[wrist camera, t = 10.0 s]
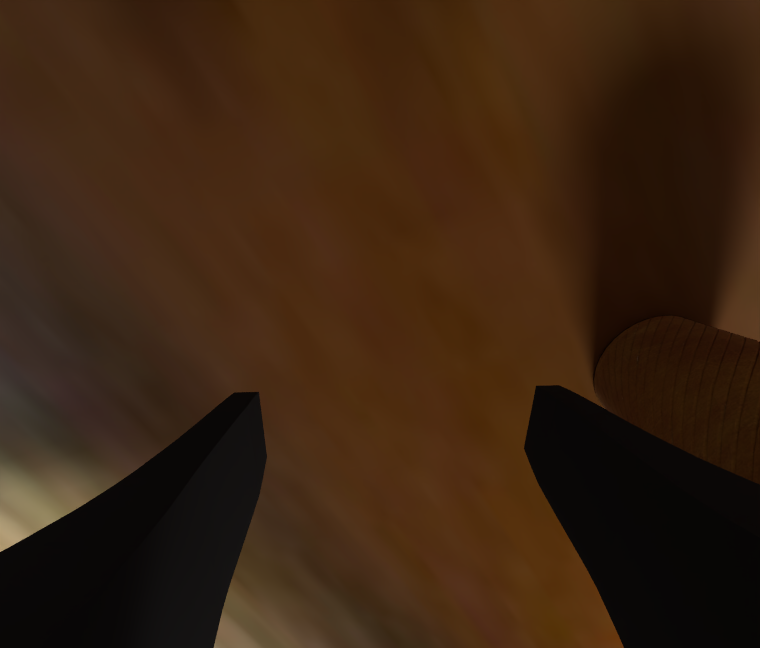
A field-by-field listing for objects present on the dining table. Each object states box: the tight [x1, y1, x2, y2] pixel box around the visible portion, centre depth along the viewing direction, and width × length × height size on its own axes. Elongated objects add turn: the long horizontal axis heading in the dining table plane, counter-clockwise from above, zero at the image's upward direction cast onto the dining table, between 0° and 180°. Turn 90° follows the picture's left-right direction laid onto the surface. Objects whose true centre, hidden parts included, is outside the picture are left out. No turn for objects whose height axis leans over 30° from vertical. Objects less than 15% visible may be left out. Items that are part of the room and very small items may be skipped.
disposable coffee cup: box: [594, 316, 760, 484], centre depth 16 cm, size 10×10×12 cm
